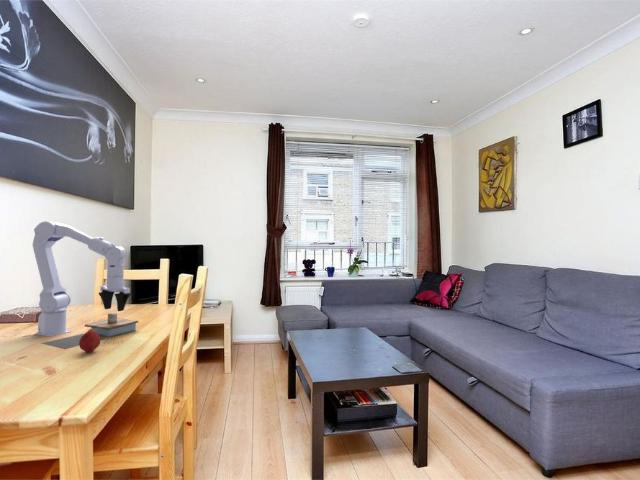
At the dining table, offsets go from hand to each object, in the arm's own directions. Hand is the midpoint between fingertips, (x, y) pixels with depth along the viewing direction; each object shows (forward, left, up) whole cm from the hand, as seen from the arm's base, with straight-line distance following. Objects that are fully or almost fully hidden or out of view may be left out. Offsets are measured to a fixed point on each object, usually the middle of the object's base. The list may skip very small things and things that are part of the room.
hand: (114, 309), depth 135 cm
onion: (+17, -19, -9) cm, 27 cm away
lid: (0, -1, -6) cm, 6 cm away
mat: (0, -14, -9) cm, 17 cm away
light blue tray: (0, 0, -9) cm, 9 cm away
